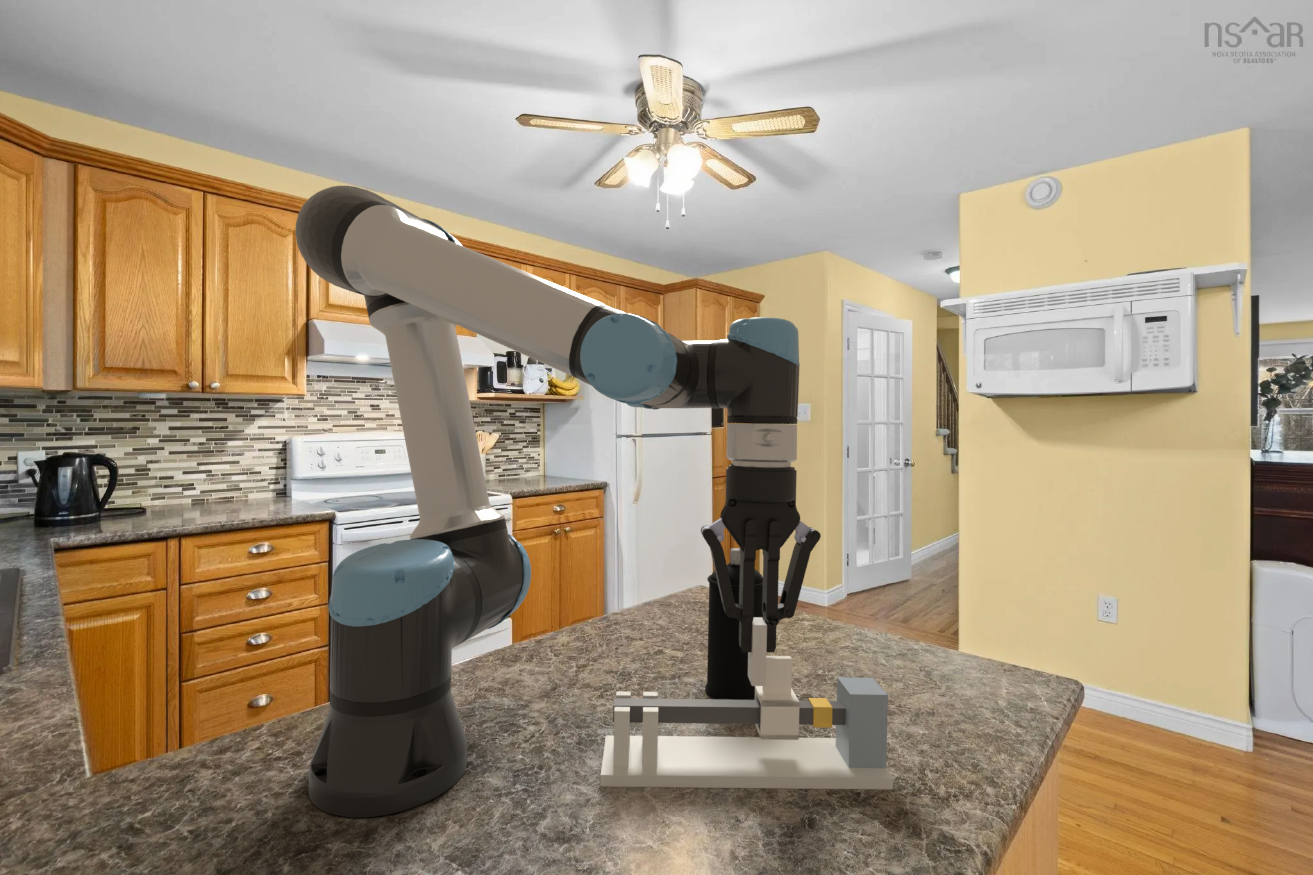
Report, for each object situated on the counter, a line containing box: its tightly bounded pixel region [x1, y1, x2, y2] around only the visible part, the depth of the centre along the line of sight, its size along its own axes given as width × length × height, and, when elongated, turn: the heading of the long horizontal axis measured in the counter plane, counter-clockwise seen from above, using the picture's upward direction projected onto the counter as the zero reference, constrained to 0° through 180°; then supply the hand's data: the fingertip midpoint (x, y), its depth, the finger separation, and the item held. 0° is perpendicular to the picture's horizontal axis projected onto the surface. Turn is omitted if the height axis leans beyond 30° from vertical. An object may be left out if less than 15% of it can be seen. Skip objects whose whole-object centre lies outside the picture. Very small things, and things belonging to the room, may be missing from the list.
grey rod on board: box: [599, 676, 894, 791], centre depth 66 cm, size 30×8×9 cm, turn 91°
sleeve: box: [754, 655, 800, 740], centre depth 66 cm, size 4×4×8 cm
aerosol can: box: [704, 547, 763, 700], centre depth 85 cm, size 8×8×20 cm
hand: (756, 680), depth 66 cm, fingers closed
